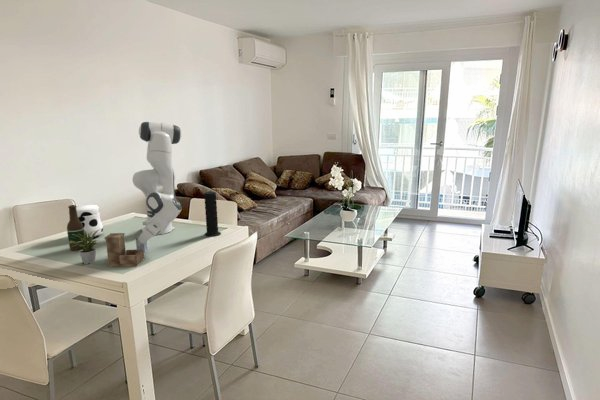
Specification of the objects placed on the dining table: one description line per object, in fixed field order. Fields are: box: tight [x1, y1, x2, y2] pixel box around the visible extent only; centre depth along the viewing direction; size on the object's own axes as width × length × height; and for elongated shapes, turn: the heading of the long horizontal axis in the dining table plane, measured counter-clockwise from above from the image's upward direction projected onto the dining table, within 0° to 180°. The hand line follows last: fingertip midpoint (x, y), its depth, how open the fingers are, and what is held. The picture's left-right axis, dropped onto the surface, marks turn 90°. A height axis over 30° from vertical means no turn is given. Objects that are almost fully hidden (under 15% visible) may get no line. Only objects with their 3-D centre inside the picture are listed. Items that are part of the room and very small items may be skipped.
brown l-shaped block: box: [104, 232, 145, 267], centre depth 184 cm, size 14×10×14 cm
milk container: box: [68, 204, 104, 240], centre depth 227 cm, size 17×17×18 cm
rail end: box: [135, 235, 148, 253], centre depth 201 cm, size 4×4×8 cm
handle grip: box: [203, 190, 222, 238], centre depth 227 cm, size 10×26×10 cm
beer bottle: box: [66, 204, 84, 252], centre depth 205 cm, size 8×8×24 cm
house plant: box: [68, 229, 101, 265], centre depth 186 cm, size 14×14×16 cm
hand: (140, 243), depth 201 cm, fingers closed on rail end, 4 cm apart
